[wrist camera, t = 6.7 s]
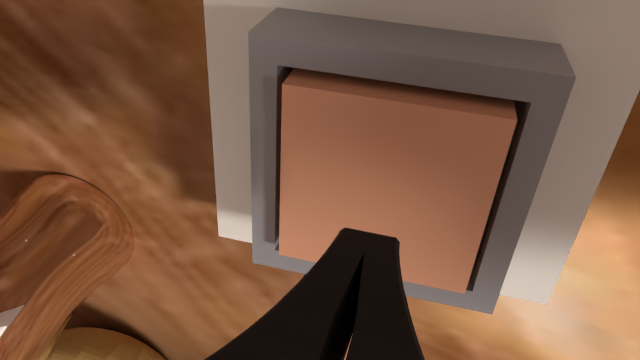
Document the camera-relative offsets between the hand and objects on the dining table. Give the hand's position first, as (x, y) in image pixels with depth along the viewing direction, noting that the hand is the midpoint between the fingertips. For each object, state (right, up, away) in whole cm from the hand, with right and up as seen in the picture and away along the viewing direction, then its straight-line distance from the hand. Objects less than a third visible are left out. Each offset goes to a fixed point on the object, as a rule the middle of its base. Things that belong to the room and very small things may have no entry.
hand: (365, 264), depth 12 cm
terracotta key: (+2, +4, +6) cm, 7 cm away
